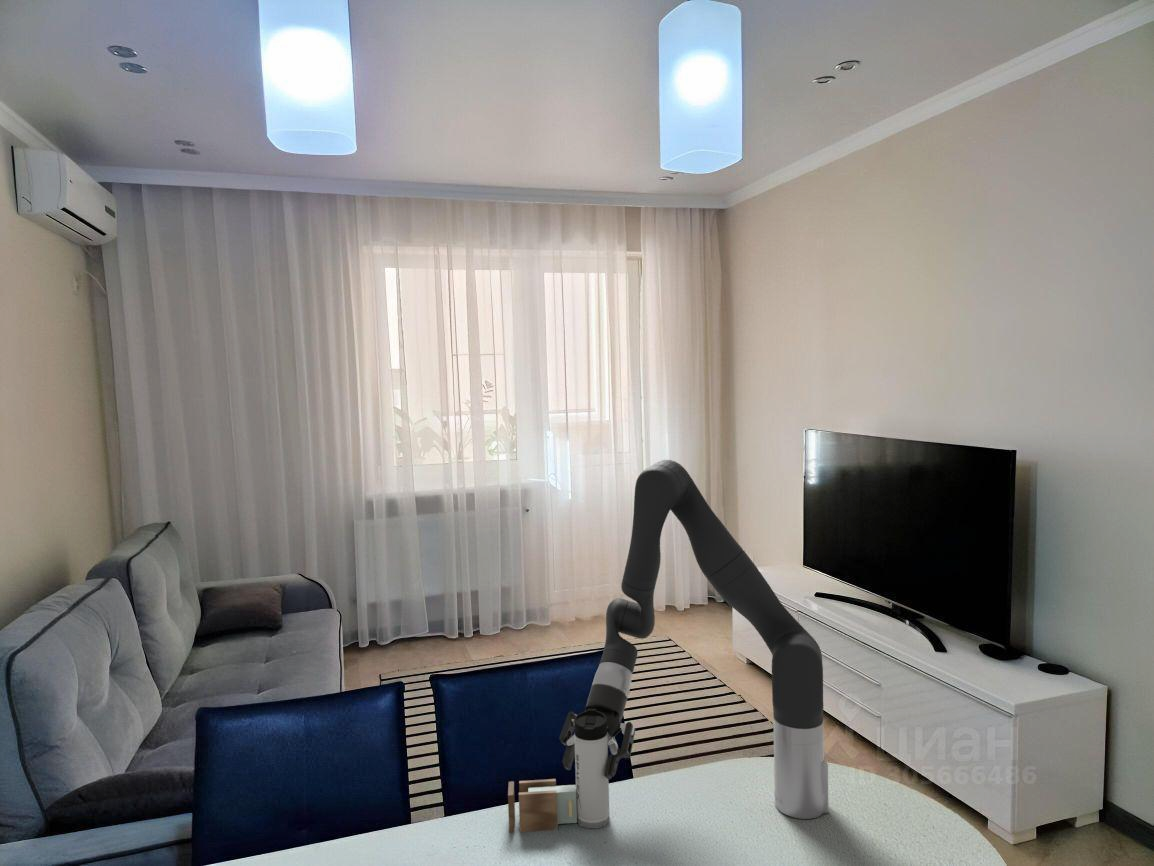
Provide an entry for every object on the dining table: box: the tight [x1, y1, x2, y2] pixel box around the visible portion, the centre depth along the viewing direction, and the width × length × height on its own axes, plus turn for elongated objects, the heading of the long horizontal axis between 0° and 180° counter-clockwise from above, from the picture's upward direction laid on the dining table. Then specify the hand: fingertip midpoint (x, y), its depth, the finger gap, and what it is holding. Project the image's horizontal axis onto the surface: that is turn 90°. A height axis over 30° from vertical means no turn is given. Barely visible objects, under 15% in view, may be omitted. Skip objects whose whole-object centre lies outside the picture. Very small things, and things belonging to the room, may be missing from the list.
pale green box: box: [528, 784, 578, 825], centre depth 138 cm, size 9×3×6 cm, turn 94°
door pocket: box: [507, 778, 559, 833], centre depth 138 cm, size 9×5×7 cm, turn 94°
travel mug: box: [573, 709, 611, 829], centre depth 139 cm, size 6×7×20 cm
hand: (586, 773), depth 138 cm, fingers open, 8 cm apart
